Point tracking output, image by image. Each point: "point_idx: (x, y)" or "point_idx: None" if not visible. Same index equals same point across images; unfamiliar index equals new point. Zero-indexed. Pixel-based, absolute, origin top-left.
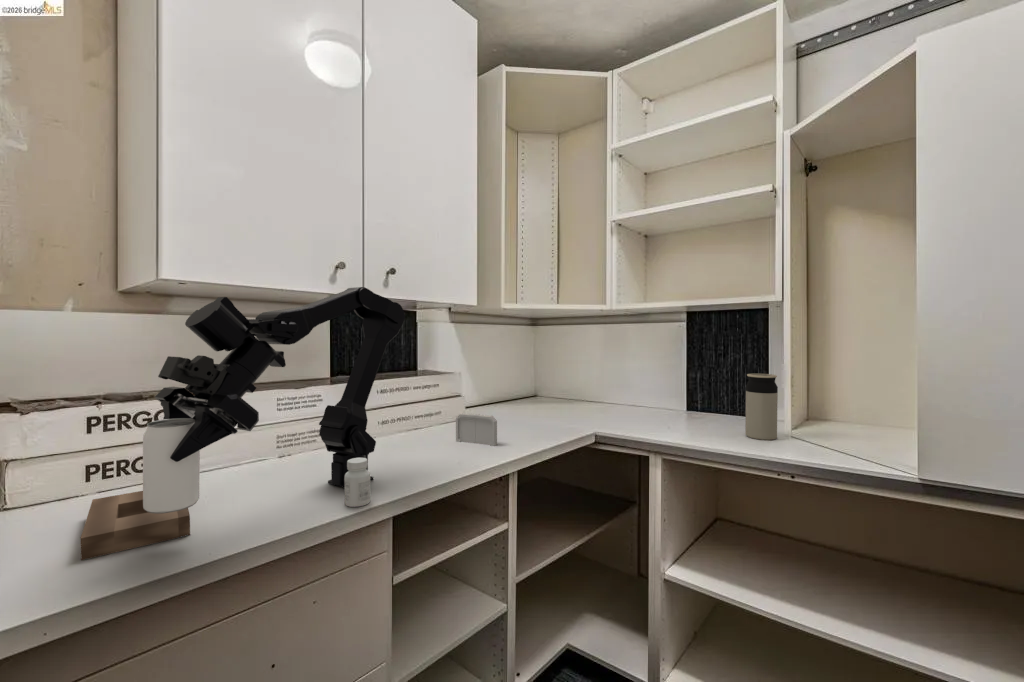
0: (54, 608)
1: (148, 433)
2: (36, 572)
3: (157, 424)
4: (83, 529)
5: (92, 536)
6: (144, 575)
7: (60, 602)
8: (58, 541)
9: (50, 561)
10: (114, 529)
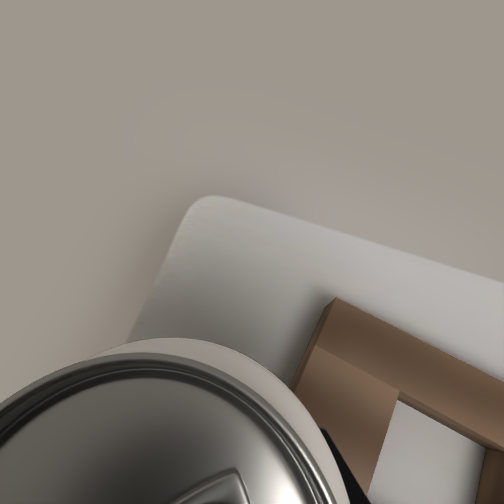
0: (191, 223)
1: (163, 346)
2: (339, 259)
3: (218, 482)
4: (386, 323)
5: (328, 313)
6: (160, 321)
7: (200, 232)
8: (465, 332)
9: (368, 285)
10: (326, 351)
